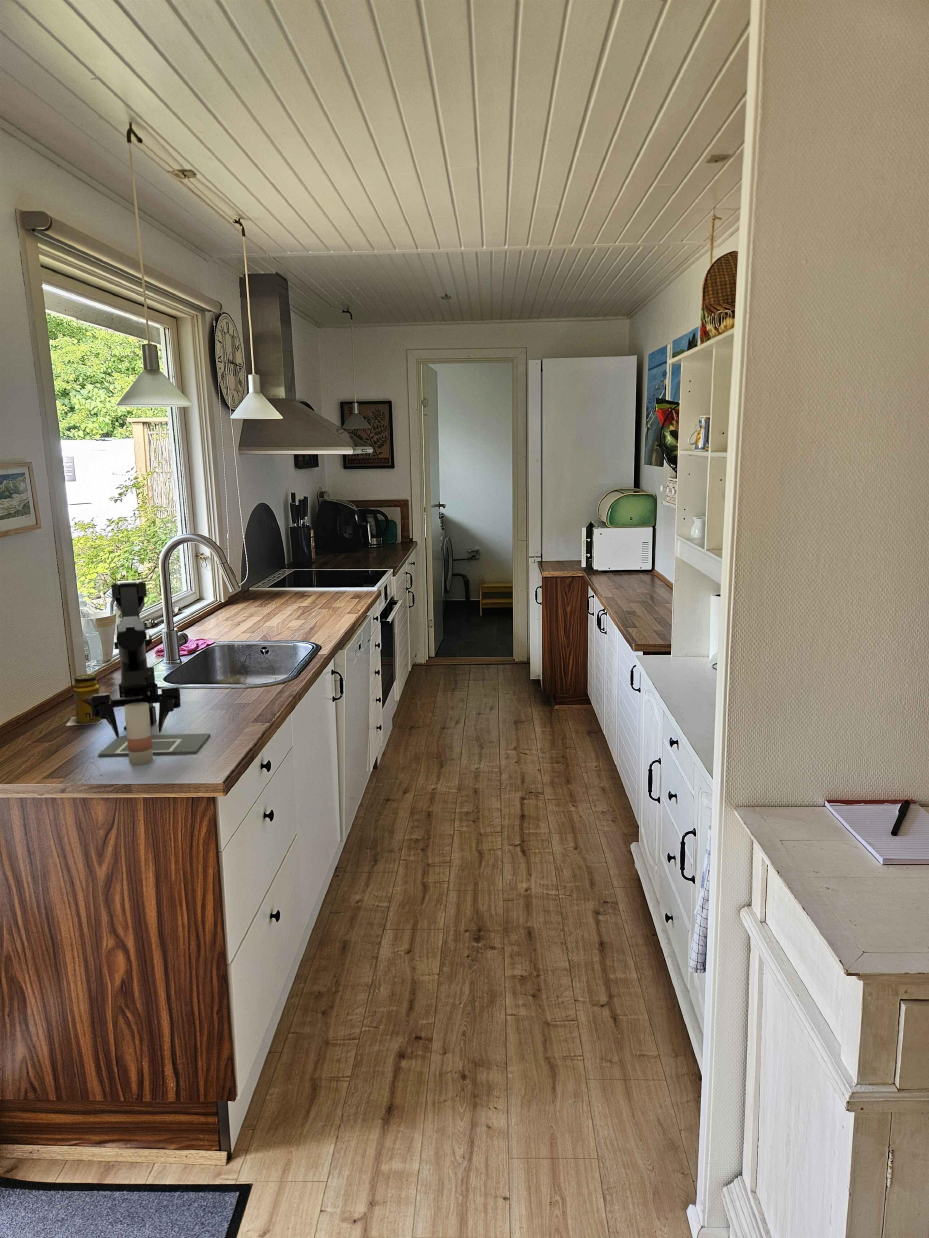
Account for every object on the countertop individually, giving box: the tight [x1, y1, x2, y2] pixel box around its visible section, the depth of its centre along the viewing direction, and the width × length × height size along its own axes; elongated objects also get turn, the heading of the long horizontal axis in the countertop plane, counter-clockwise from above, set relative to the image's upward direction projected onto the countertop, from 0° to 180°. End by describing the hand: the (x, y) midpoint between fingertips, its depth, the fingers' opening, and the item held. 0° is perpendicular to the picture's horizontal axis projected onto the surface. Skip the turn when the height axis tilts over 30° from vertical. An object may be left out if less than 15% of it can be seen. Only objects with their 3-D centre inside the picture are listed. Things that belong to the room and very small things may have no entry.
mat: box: [97, 733, 211, 758], centre depth 197 cm, size 22×13×1 cm, turn 93°
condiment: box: [65, 673, 104, 727], centre depth 217 cm, size 7×8×12 cm
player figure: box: [124, 702, 154, 766], centre depth 186 cm, size 5×5×13 cm
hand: (138, 734), depth 184 cm, fingers open, 8 cm apart
